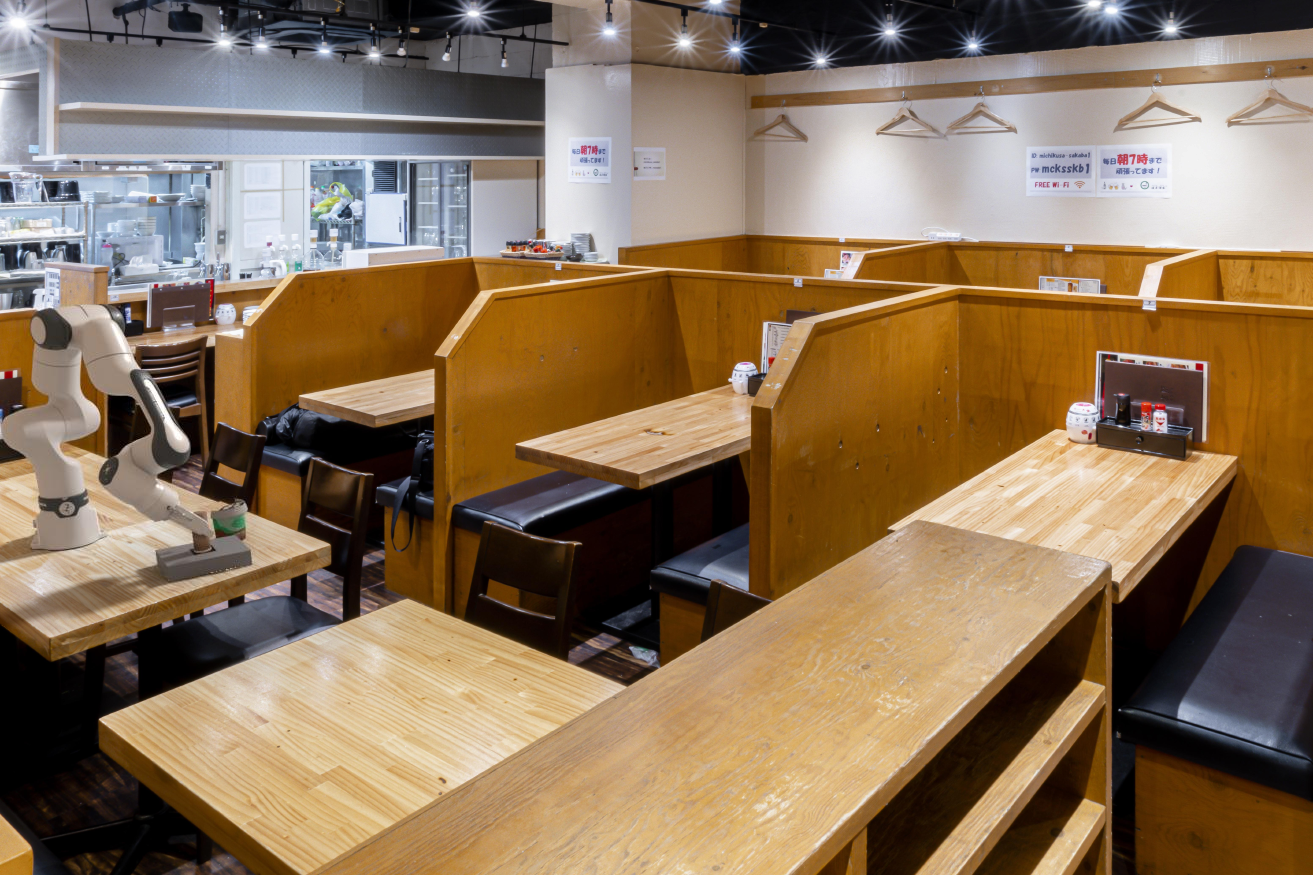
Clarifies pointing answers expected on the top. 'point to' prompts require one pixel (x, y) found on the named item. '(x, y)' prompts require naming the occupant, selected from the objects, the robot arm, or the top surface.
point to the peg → (201, 538)
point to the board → (203, 558)
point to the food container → (230, 520)
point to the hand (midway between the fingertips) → (203, 530)
